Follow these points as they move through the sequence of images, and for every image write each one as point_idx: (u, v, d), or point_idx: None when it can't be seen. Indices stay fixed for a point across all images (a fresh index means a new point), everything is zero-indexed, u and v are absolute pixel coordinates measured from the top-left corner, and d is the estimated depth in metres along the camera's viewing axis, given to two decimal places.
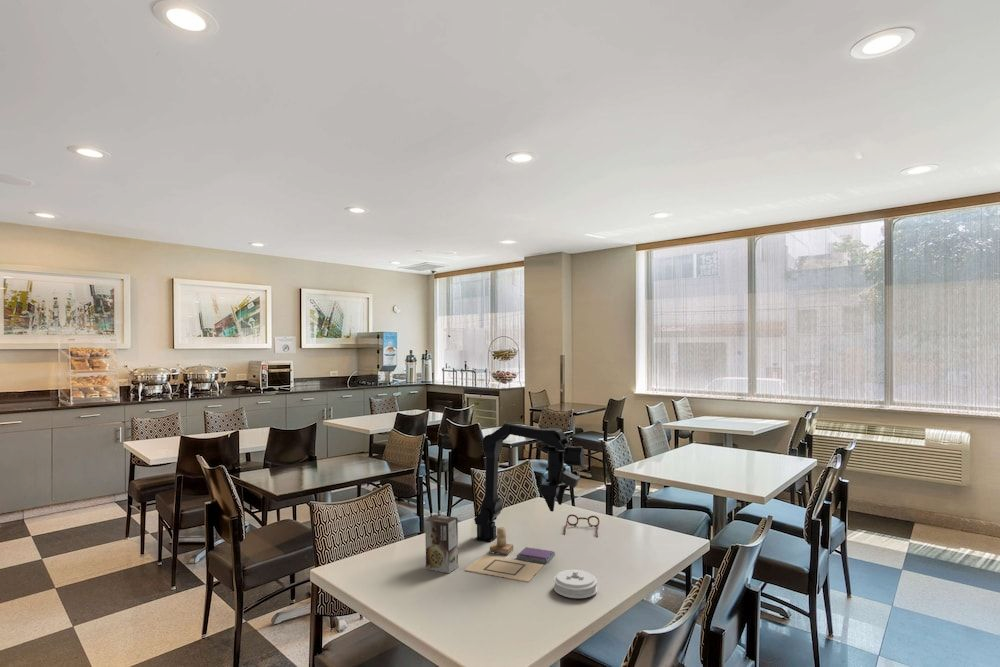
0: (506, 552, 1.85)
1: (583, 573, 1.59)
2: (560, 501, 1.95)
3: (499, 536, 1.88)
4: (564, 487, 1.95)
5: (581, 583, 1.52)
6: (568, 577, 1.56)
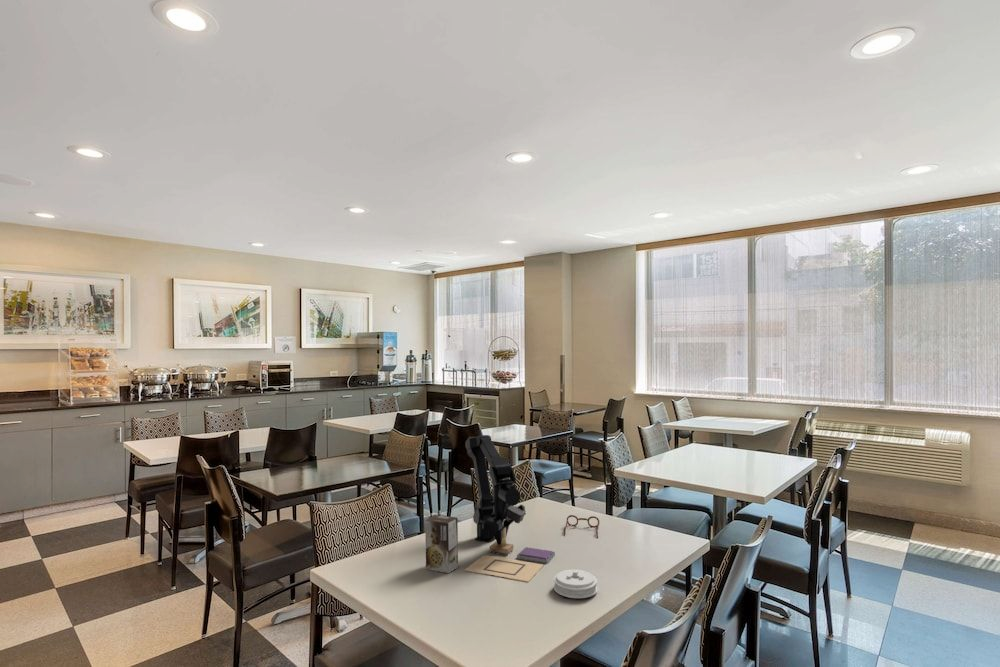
0: (506, 552, 1.85)
1: (583, 573, 1.59)
2: None
3: None
4: (508, 523, 1.90)
5: (581, 583, 1.52)
6: (568, 577, 1.56)
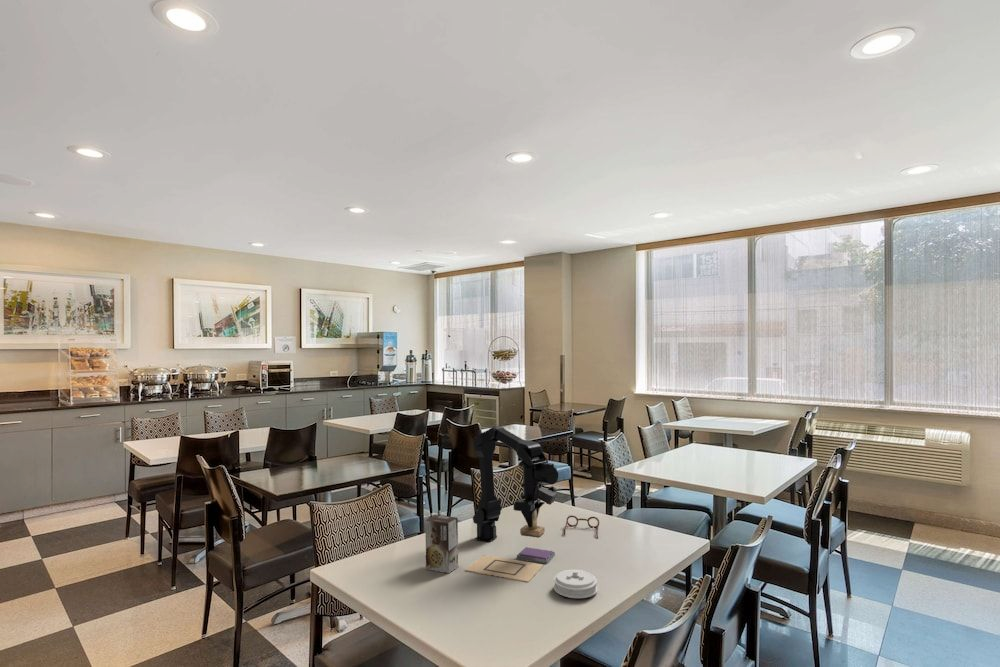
0: (538, 534, 1.80)
1: (583, 573, 1.59)
2: None
3: None
4: (538, 506, 1.86)
5: (581, 583, 1.52)
6: (568, 577, 1.56)
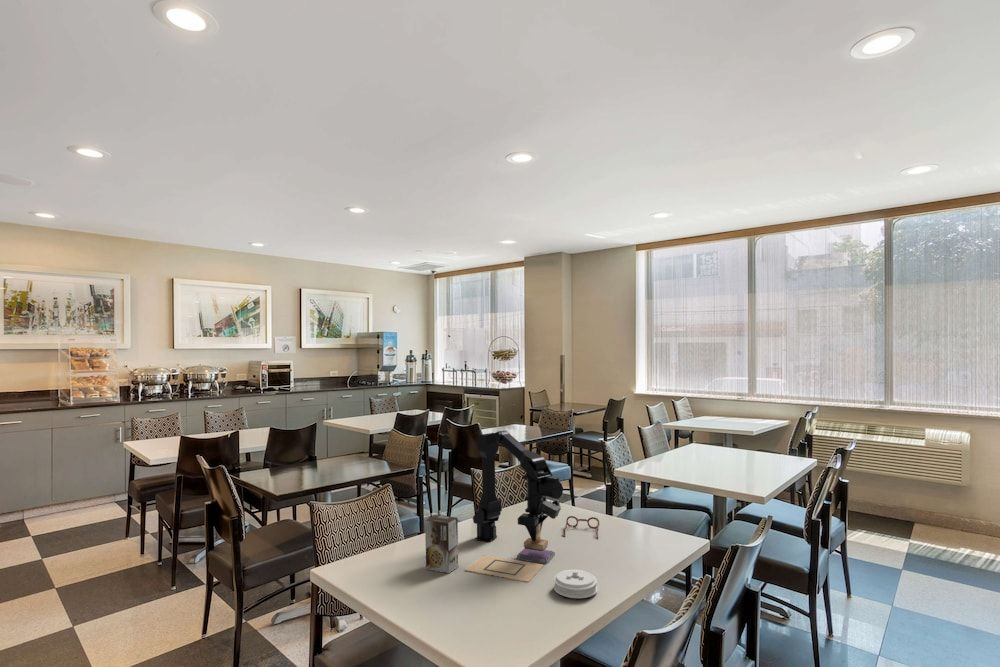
0: (541, 548, 1.80)
1: (583, 573, 1.59)
2: None
3: None
4: (542, 519, 1.85)
5: (581, 583, 1.52)
6: (568, 577, 1.56)
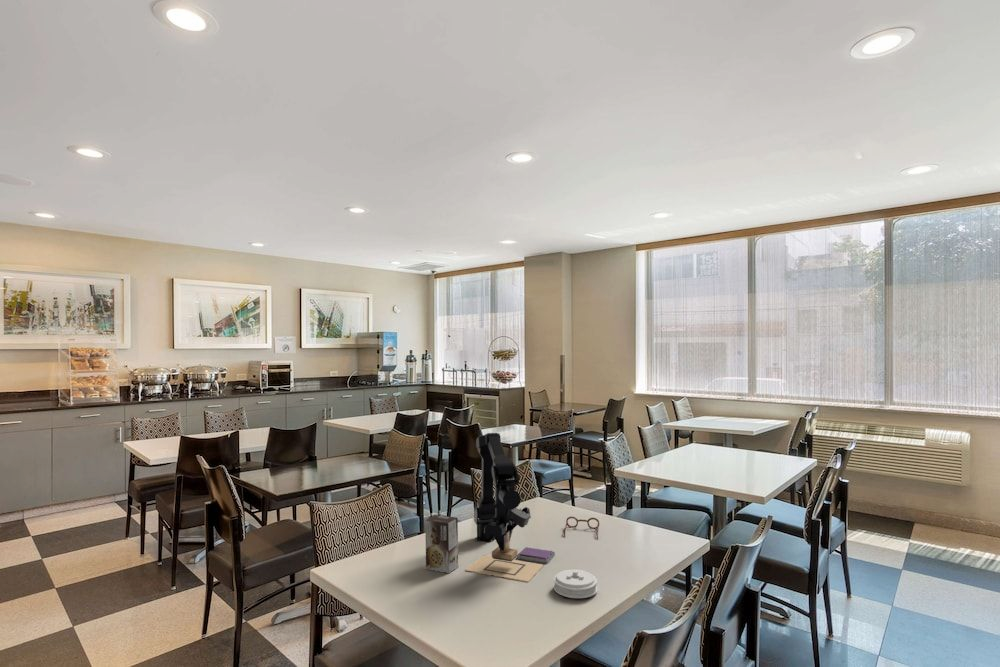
0: (510, 558, 1.71)
1: (583, 573, 1.59)
2: None
3: None
4: (511, 527, 1.76)
5: (581, 583, 1.52)
6: (568, 577, 1.56)
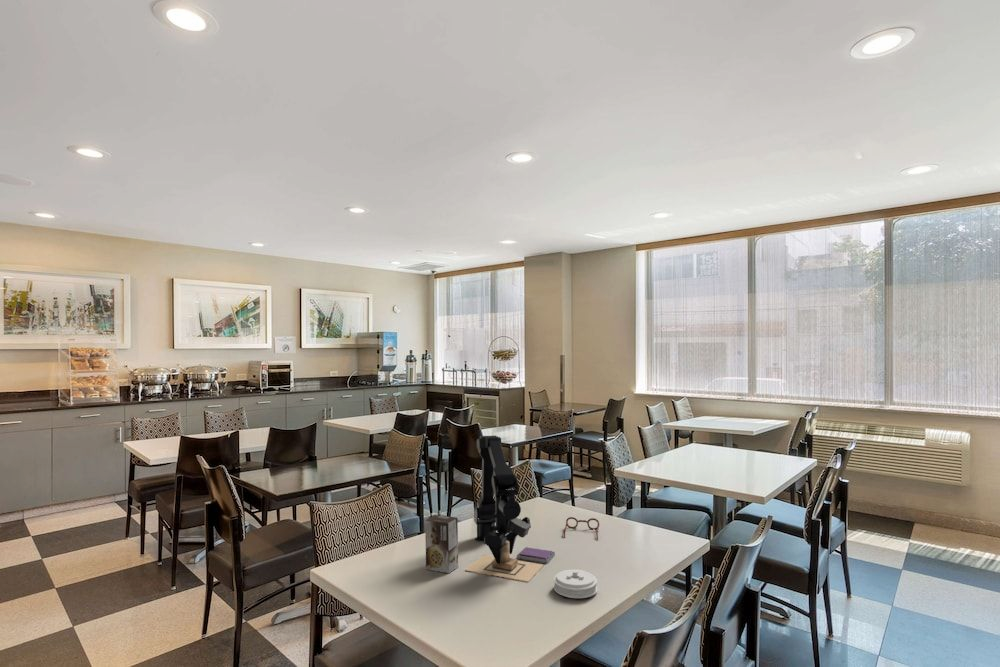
0: (510, 568, 1.70)
1: (583, 573, 1.59)
2: (510, 550, 1.78)
3: None
4: (515, 534, 1.78)
5: (581, 583, 1.52)
6: (568, 577, 1.56)
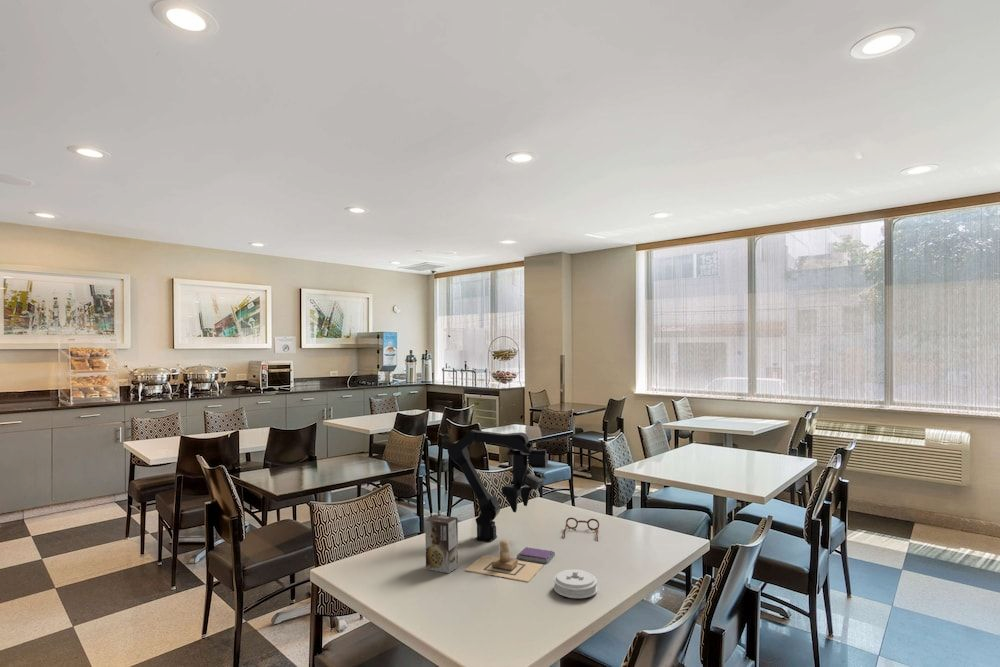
0: (510, 568, 1.70)
1: (583, 573, 1.59)
2: (525, 502, 2.03)
3: (501, 550, 1.73)
4: (529, 489, 2.03)
5: (581, 583, 1.52)
6: (568, 577, 1.56)
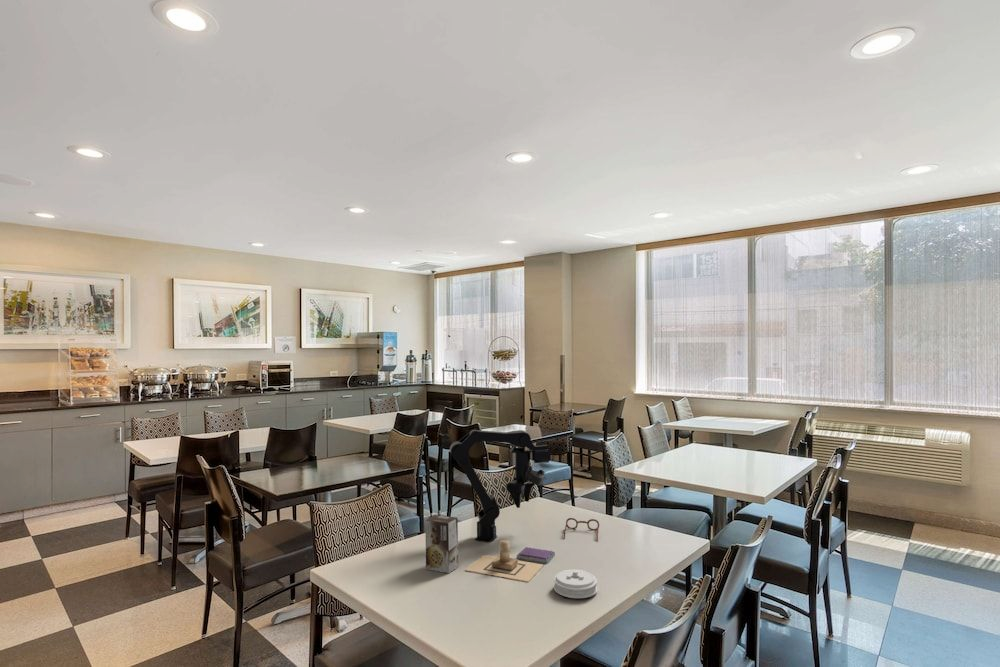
0: (510, 568, 1.70)
1: (583, 573, 1.59)
2: (527, 498, 2.09)
3: (501, 550, 1.73)
4: (531, 485, 2.09)
5: (581, 583, 1.52)
6: (568, 577, 1.56)
